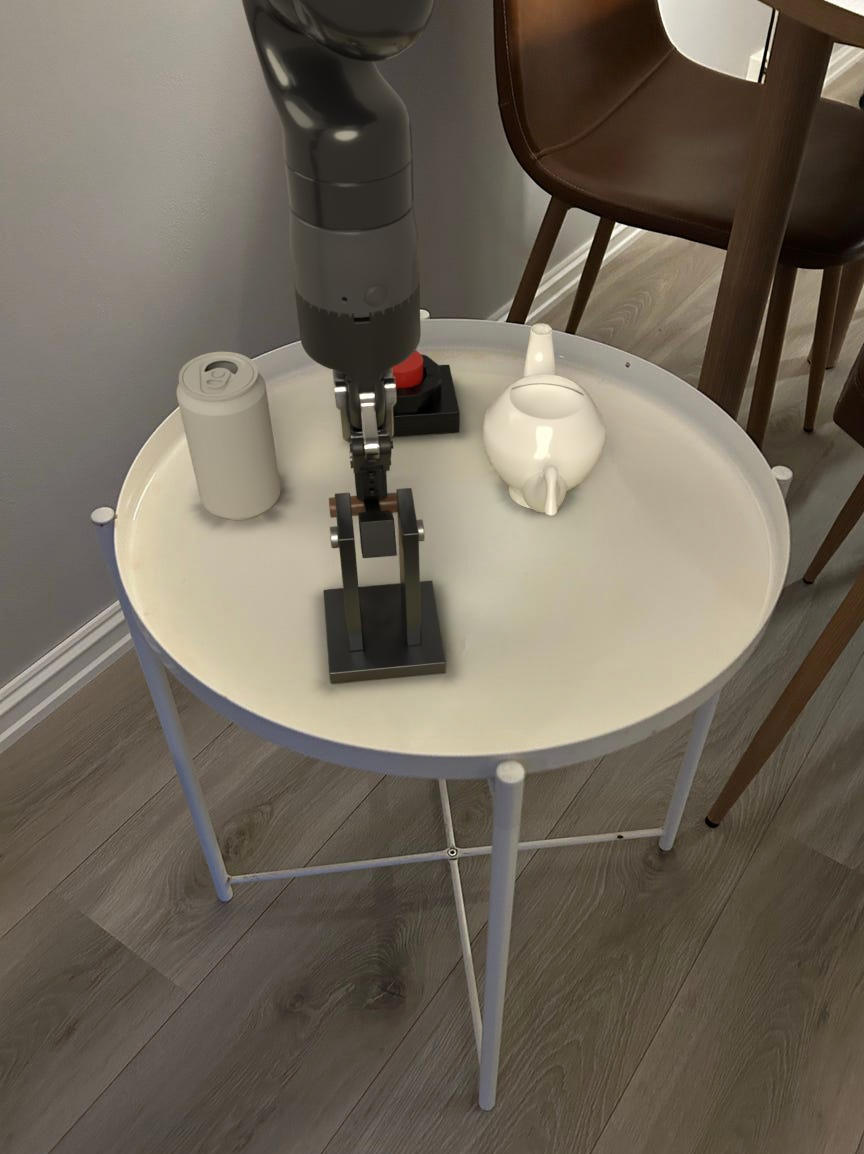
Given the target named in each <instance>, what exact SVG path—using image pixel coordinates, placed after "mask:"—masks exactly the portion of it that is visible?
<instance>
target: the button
mask: <svg viewBox="0 0 864 1154" xmlns="http://www.w3.org/2000/svg"><path fill="white" fill-rule="evenodd" d="M421 354H422V353H420V352H419V351H418V350H417V349H416V350H415V351H414V353H413V354H412V355H411V356H410V357H409V358H408V359H406V360H405V361H404V362H402V363H400V364H399V365H396V366H394V367H393V376H395V381H396V388H408V387H414V386H416V385H418V384H420V383H421V382H422V380H423V357H422V355H423V354H422V355H421Z"/></svg>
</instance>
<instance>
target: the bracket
mask: <svg viewBox="0 0 864 1154" xmlns="http://www.w3.org/2000/svg"><path fill="white" fill-rule="evenodd" d="M395 490H396V493H397V513H396V514H397V537H398V558H399V559H398V560H399V561H398V563H399V582H397V583H387V584H376V585H375V584H374V585H365V586H359V576H358V575H359V574H358V562H357V551H356V539H355V528H354V521H353V519H354V518H353V516H352V508H351V498H350V496H351V492H341V493H340V492H339V493H334V497H335V506H336V517H335V518H336V525H335V526H329V536H330V538H329V539H330V546H331V549H338V550H339V551H338V552H339V559H340V571H341V580H342V587H339V588H329V589H323V591H322V593H323V606H324V621H325V632H326V633H325V634H326V635H325V636H326V648H327V650H326V651H327V663H328V675H329V676H328V677H329V683H330V684H331V685H336V684H347V683H358V682H368V681H377V680H389V679H399V678H410V677H421V676H429V675H430V676H431V675H441V674H446V672H447V661H446V655H445V649H444V643H443V638H442V631H441V625H440V619H439V613H438V606H437V599H436V593H435V588H434V583H433V582H434V581H433V580H422V581H421V569H420V567H421V566H420V542H424V541H425V540H426V539H425V538H426V537H425V536H426V535H425V525H424V520H423V519H421V518H420V519H417V513H416V507H415V501H414V494H413V489H412V487H404V488H396V489H395Z"/></svg>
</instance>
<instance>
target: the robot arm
mask: <svg viewBox="0 0 864 1154" xmlns="http://www.w3.org/2000/svg"><path fill="white" fill-rule="evenodd" d="M241 3H242V7H243V11H244V15H245V18H246V22H247V26H248V28H249V32H250V36H251V39H252V42H253V45H254V49H255V52H256V55H257V59H258V62H259V65H260V68H261V72H262V75H263V78H264V81H265V86H266V88H267V90H268V92H269V95H270V98H271V101H272V103H273V106H274V109H275V111H276V114H277V118H278V121H279V124H280V128H281V134H282V148H283V160H284V169H285V170H284V171H285V177H286V178H285V179H286V186H287V195H288V206H289V207H288V208H289V228H288V229H289V233H288V234H289V236H288V237H289V238H288V239H289V254H290V261H291V268H292V269H291V270H292V278H293V279H292V280H293V285H294V296H295V304H296V311H297V321H298V329H299V337H300V343H301V346H302V348H303V350H304V351H305V353H306V355H308V357H309V358H310V359H312V361H314V362H315V363H317V364H318V365H320V366H322V367H324V368H327V369H328V370H332V378H333V380H332V381H333V390H334V399H335V407H336V408H337V409H338V410H339V415H340V423H341V434H342V439H343V440H344V441H345V442H347V443H348V444H349V451H348V453H349V454H348V455H349V459H351V460H349V463H350V469H352V471H353V475H354V485H355V486H354V487H355V493H356V495H355V496H357V499H358V500H360V501H369V500H383V499H385V498H386V497H387V493H388V477H387V476H388V475H387V472H389V471H390V470H391V466H392V454H393V453H392V450H394V440H391V439H392V438H394V437H393V435H394V421H393V406H394V405H395V404H396V402H397V398H396V381H395V376H393V367H394V366H396V365H399V364H400V363H402V362H404V361H405V360H406V359H408V358H409V357H410V356H411V355H412V354H413V353H414V351H415V350H416V351H417V348H418V347H419V344H420V341H421V333H422V332H421V288H420V287H421V286H420V285H421V283H420V243H419V241H420V240H419V231H418V225H417V220H416V219H417V218H416V214H415V203H414V165H413V163H414V162H413V137H412V136H413V135H412V125H411V119H410V116H409V111H408V109H407V107H406V104H405V103H404V101H403V99H402V98H401V97H400V95H399V94H398V93H397V92H396V90H395V89H394V88H393V87H392V86H391V85H390V84H389V82H388V81H387V80H386V79H385V78H384V77H383V75H382V74H381V72H380V71H379V69H378V67H377V65H376V62H382V61H387V60H390V59H393V58H396V57H398V56H399V55H401V54H404V52H406V51H407V50H409V48H411V47H412V46H413V45H414V44H415V43H416V42H417V41H418V40H419V39H420V37H421V36H422V34H423V33H424V32H425V29H426V28H427V26H428V24H429V22H430V19H431V17H432V14H433V11H434V8H435V5H436V0H241Z"/></svg>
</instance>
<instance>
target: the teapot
mask: <svg viewBox="0 0 864 1154" xmlns="http://www.w3.org/2000/svg"><path fill="white" fill-rule="evenodd" d="M553 335H554V334H553V328H552V327H551V326H550V325H549V324H547V323H535V324H533V325H532V326H531V327H530V330H529V336H528V343H527V350H526V355H525V362H524V366H523V373H522V377H521V378H518V379H517V380H514V381H513V382H511V383H510V384H509V385H508V386H506V387H505V388H504V389H503V390H502V391H501V392H500V394H499V395H498V396H497V397H496V398H495V399H494V401H493V402H492V403H491V404H490V405H489V407H488V408H487V410H486V412H485V414H484V416H483V420H482V426H481V427H482V428H481V437H482V438H481V439H482V445H483V449H484V452H485V455H486V458H487V460H488V462H489V464H490V465H491V467H492V469H493V470H494V472H495V474H496V475H498V477H499V478H500V479H501V480H502V481H503V482H505V484H506V485H508V488H507V490H508V494H509V496H510V498H511V499H512V500H513V501H514V502H515V503H516V504H518V505H519V506H522V507H524V508H527V509H529V510H533V511H534V512H537V513H539V514H546V515H547V516H554V515H556V514H557V512H558V509H559V507H561V505H562V504H563V503H564V500H565V499H566V496H567V492H568V491H570V490H573V489H574V488H575V487H577V486H578V485H580V484H581V483H582V482H583V481H585V480H586V479H587V478H588V476H589V475H590V474H591V473H592V472H593V470H594V469H595V467H596V466H597V465H598V463H599V461H600V458H602V457H601V456H602V455H603V452H604V448H605V443H606V437H607V430H606V429H607V428H606V427H607V426H606V422H605V419H604V417H603V414H602V412H601V411H600V410H599V407H598V406H597V405H596V403H595V401H594V400H593V398H592V396H591V395H590V393H588V392H587V390H586V389H585V388H584V387H582V386H581V385H580V384H578V383H577V382H576V381H574V380H573V379H570V378H567V377H564V376H562V375H557V371H556V359H555V348H554V346H555V345H554V336H553Z"/></svg>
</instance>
